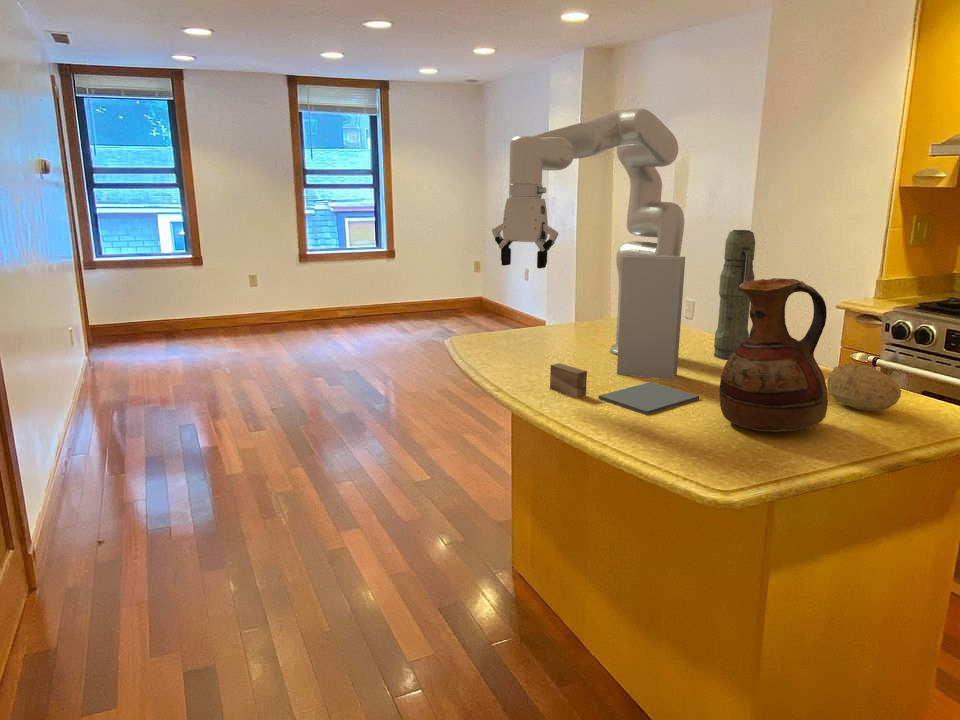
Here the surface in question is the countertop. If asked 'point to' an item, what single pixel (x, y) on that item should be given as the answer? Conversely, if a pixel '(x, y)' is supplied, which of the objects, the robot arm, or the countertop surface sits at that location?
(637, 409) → the mat
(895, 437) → the countertop surface
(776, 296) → the ceramic pitcher
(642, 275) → the thin beige panel
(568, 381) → the brown angular block
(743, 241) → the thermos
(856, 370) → the potato
